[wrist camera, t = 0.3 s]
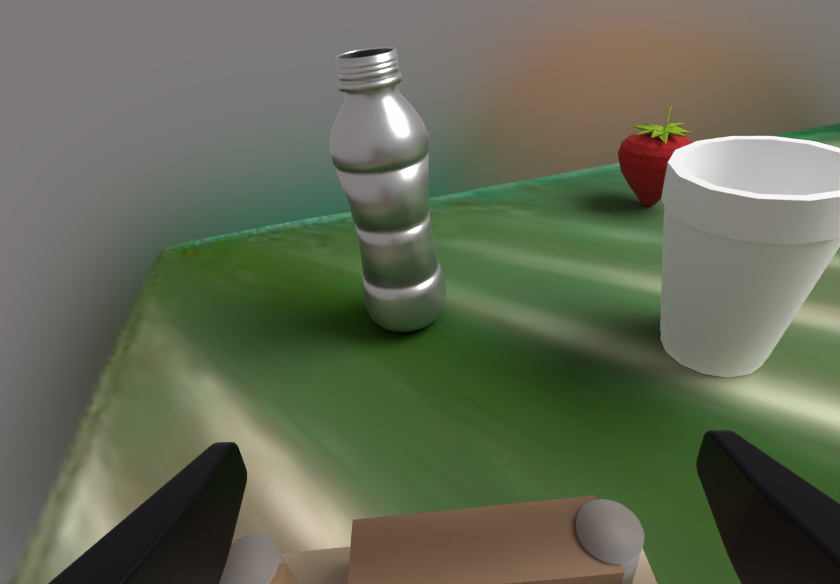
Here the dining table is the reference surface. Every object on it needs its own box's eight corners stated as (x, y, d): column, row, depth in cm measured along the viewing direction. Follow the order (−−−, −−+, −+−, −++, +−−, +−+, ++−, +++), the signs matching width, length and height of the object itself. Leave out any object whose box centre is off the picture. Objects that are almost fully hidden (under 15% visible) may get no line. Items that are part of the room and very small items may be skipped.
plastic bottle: (463, 322, 38) (442, 46, 27) (387, 355, 36) (329, 69, 25) (426, 286, 43) (394, 39, 32) (357, 312, 41) (296, 58, 30)
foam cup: (625, 304, 38) (651, 141, 31) (755, 303, 36) (815, 130, 29) (657, 394, 30) (701, 205, 23) (823, 398, 29) (928, 195, 21)
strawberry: (630, 187, 55) (643, 96, 50) (697, 204, 50) (720, 105, 44) (600, 205, 52) (610, 110, 47) (667, 224, 47) (687, 121, 42)
